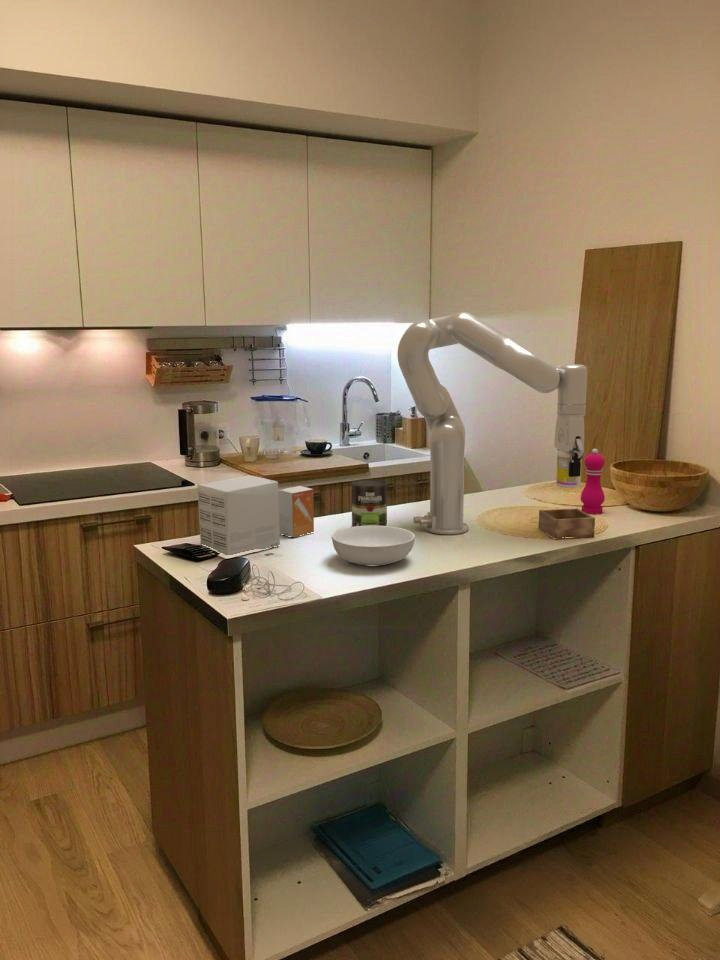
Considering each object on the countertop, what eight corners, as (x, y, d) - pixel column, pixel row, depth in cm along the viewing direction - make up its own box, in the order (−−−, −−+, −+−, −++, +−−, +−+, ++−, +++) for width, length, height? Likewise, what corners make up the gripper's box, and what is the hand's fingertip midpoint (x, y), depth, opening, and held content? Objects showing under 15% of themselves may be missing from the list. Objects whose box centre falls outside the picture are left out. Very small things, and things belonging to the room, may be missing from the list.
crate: (554, 539, 221) (555, 520, 220) (538, 528, 232) (539, 510, 231) (594, 537, 223) (595, 518, 222) (576, 526, 234) (577, 508, 233)
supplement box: (251, 537, 225) (249, 474, 221) (281, 547, 216) (279, 481, 212) (198, 550, 213) (195, 483, 210) (228, 561, 204) (225, 491, 200)
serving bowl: (431, 560, 203) (432, 534, 202) (373, 579, 189) (373, 551, 187) (373, 544, 218) (373, 520, 216) (314, 561, 203) (314, 534, 202)
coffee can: (388, 534, 227) (388, 485, 224) (352, 535, 227) (351, 486, 224) (386, 525, 237) (386, 478, 234) (351, 526, 237) (350, 479, 234)
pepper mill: (606, 514, 248) (610, 450, 244) (583, 514, 248) (586, 450, 244) (600, 509, 255) (603, 446, 251) (577, 509, 255) (580, 446, 251)
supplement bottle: (565, 482, 229) (567, 438, 227) (585, 486, 224) (587, 440, 222) (551, 486, 225) (552, 440, 223) (570, 489, 220) (572, 443, 218)
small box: (293, 538, 224) (292, 493, 221) (278, 534, 228) (277, 489, 225) (314, 533, 229) (313, 488, 227) (300, 529, 234) (299, 485, 231)
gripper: (546, 406, 228) (544, 468, 232) (571, 413, 211) (568, 480, 215) (571, 406, 229) (568, 467, 233) (598, 413, 213) (595, 479, 216)
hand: (568, 473), depth 224 cm, fingers closed on supplement bottle, 6 cm apart
